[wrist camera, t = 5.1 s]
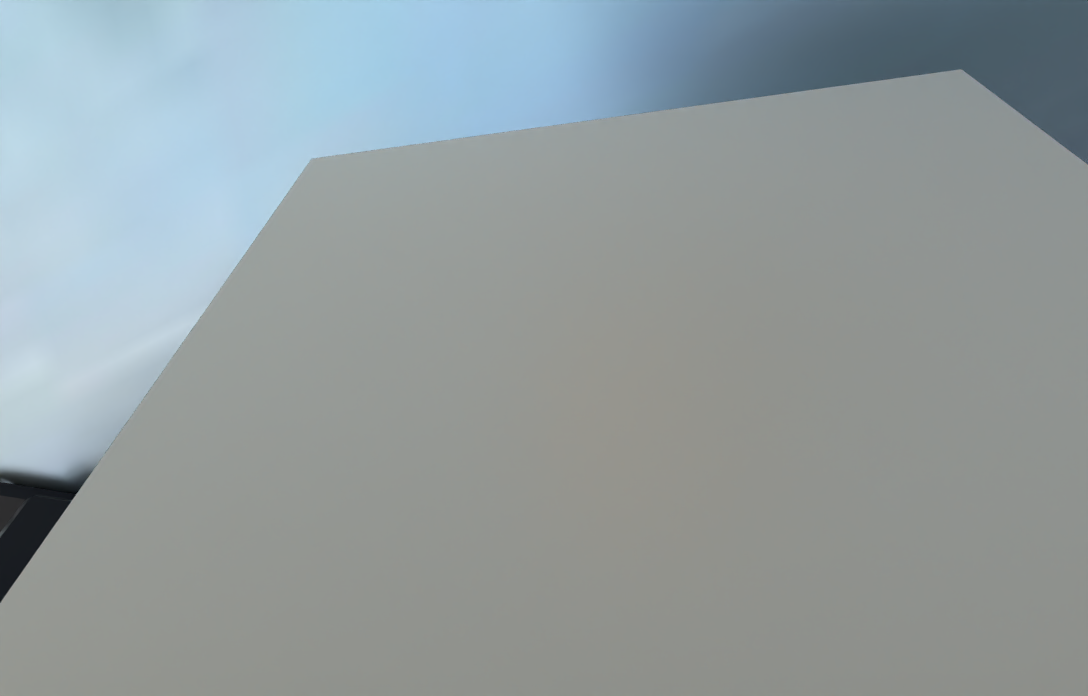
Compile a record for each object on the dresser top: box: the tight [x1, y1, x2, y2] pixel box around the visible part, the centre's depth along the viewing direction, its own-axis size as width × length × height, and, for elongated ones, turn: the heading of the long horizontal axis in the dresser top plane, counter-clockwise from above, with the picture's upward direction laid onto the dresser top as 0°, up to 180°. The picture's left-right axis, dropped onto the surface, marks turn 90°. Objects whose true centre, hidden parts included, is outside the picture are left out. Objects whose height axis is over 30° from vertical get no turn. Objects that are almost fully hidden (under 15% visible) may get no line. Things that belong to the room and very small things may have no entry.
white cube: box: [0, 69, 1088, 696], centre depth 8 cm, size 8×8×8 cm
